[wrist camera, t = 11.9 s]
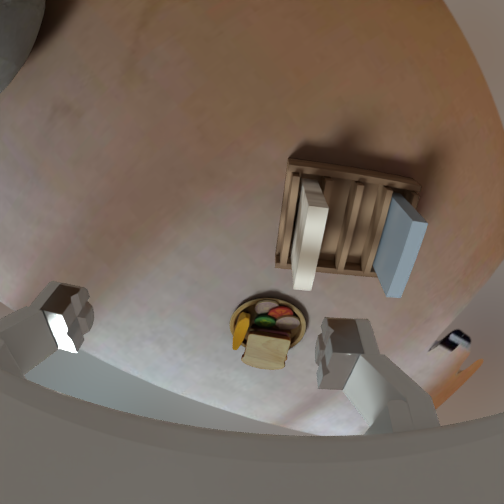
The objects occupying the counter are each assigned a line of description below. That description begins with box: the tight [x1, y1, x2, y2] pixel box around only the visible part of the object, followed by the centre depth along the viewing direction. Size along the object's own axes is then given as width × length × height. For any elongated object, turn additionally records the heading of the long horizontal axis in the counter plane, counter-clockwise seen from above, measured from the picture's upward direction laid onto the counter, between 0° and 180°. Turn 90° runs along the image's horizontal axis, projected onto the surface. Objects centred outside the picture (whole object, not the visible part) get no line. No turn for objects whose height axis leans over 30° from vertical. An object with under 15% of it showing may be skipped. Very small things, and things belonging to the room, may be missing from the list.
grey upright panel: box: [372, 192, 428, 298], centre depth 36 cm, size 10×2×9 cm, turn 175°
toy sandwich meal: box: [230, 298, 306, 370], centre depth 50 cm, size 12×14×5 cm
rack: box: [275, 158, 422, 291], centre depth 37 cm, size 14×17×10 cm
